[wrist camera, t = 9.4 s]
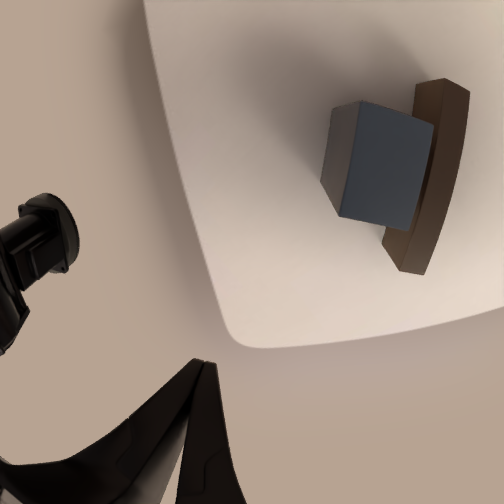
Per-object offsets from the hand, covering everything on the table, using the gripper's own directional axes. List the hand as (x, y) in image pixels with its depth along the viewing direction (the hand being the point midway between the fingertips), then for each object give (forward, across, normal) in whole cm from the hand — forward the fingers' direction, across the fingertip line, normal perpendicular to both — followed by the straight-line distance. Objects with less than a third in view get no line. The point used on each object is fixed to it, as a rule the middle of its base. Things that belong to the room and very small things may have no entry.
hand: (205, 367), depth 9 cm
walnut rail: (+12, -11, -7) cm, 17 cm away
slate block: (+8, -6, -7) cm, 12 cm away
